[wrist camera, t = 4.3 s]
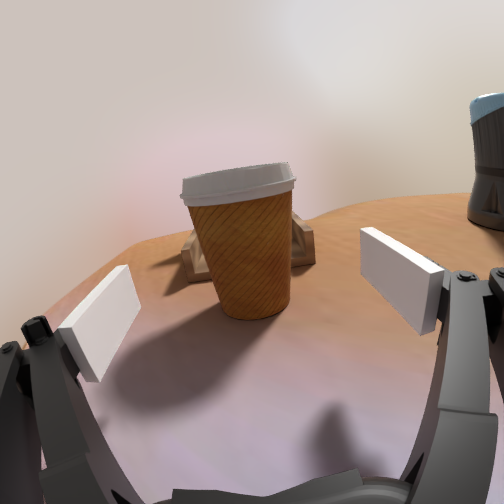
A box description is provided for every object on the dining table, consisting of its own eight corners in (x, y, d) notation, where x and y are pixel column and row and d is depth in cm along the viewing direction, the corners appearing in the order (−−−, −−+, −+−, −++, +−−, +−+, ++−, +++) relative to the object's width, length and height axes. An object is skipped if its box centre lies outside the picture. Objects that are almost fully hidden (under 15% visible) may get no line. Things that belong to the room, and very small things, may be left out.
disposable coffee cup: (295, 274, 30) (282, 161, 27) (320, 319, 21) (307, 161, 18) (208, 287, 30) (186, 176, 27) (200, 338, 21) (164, 184, 17)
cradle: (315, 263, 32) (306, 167, 29) (188, 282, 32) (168, 189, 29) (291, 230, 48) (283, 165, 44) (203, 243, 48) (191, 179, 44)
